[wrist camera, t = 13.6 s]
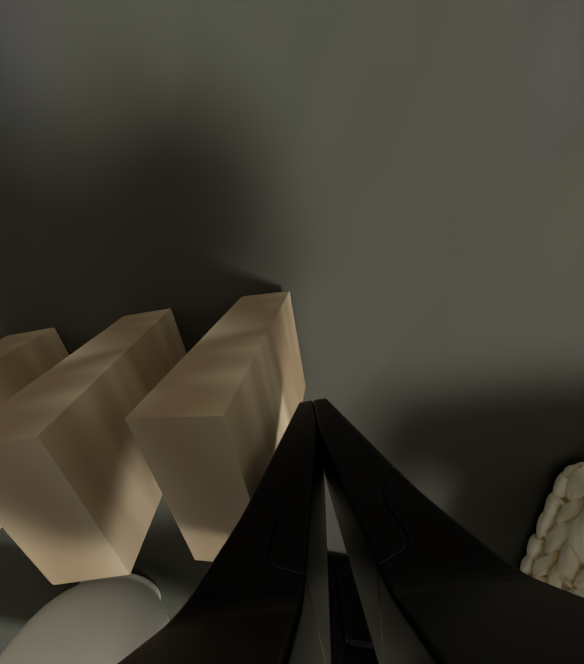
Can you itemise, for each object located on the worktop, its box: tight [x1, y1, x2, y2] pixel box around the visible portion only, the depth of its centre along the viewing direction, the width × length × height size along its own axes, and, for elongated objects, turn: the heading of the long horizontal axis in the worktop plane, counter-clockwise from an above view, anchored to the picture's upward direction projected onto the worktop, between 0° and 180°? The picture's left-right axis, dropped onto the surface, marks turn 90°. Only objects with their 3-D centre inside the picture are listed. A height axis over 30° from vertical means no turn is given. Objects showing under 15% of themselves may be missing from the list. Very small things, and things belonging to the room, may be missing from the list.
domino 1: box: [125, 291, 305, 562], centre depth 10 cm, size 2×5×8 cm, turn 9°
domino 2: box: [0, 308, 187, 585], centre depth 11 cm, size 2×5×8 cm, turn 9°
